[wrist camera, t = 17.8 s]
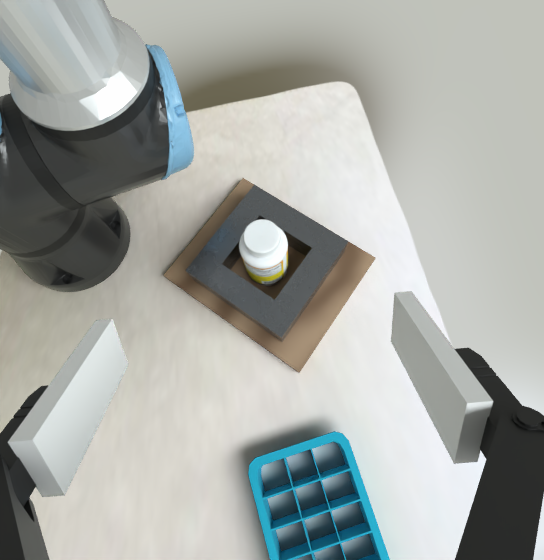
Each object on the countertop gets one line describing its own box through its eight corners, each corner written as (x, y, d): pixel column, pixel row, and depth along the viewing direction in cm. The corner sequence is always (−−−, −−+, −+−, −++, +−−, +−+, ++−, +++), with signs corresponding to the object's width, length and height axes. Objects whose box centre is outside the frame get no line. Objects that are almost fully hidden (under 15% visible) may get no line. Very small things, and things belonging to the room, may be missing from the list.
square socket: (193, 280, 48) (185, 270, 45) (256, 200, 51) (254, 184, 48) (282, 342, 45) (281, 337, 42) (343, 253, 48) (348, 241, 45)
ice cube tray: (302, 665, 37) (303, 688, 34) (247, 457, 43) (244, 461, 40) (409, 627, 37) (419, 646, 35) (341, 426, 43) (344, 428, 41)
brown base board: (165, 277, 50) (163, 275, 49) (243, 181, 54) (243, 178, 53) (299, 372, 45) (299, 372, 44) (373, 260, 49) (375, 257, 48)
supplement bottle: (262, 240, 50) (256, 203, 40) (296, 262, 48) (298, 228, 39) (238, 272, 48) (225, 241, 39) (272, 295, 47) (267, 269, 37)
